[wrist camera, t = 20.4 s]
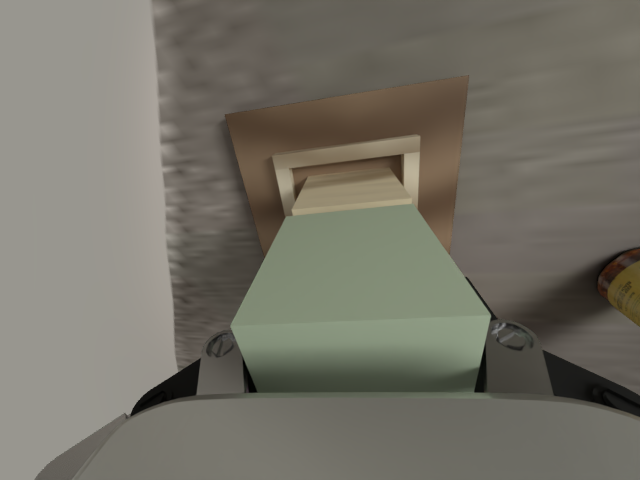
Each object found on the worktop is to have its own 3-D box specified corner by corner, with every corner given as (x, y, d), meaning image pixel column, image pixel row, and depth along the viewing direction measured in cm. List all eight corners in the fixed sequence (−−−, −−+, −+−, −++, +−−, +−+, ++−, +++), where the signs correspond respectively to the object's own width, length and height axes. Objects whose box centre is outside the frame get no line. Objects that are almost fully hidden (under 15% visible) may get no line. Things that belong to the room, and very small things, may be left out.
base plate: (232, 113, 19) (218, 115, 17) (459, 77, 17) (476, 73, 15) (278, 284, 26) (272, 301, 24) (440, 274, 24) (450, 291, 22)
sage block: (286, 216, 12) (230, 325, 6) (413, 203, 12) (491, 315, 5) (306, 308, 15) (280, 448, 9) (410, 303, 14) (460, 453, 8)
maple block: (308, 176, 19) (291, 209, 13) (389, 167, 19) (411, 198, 12) (318, 245, 22) (308, 299, 16) (389, 240, 21) (408, 295, 15)
